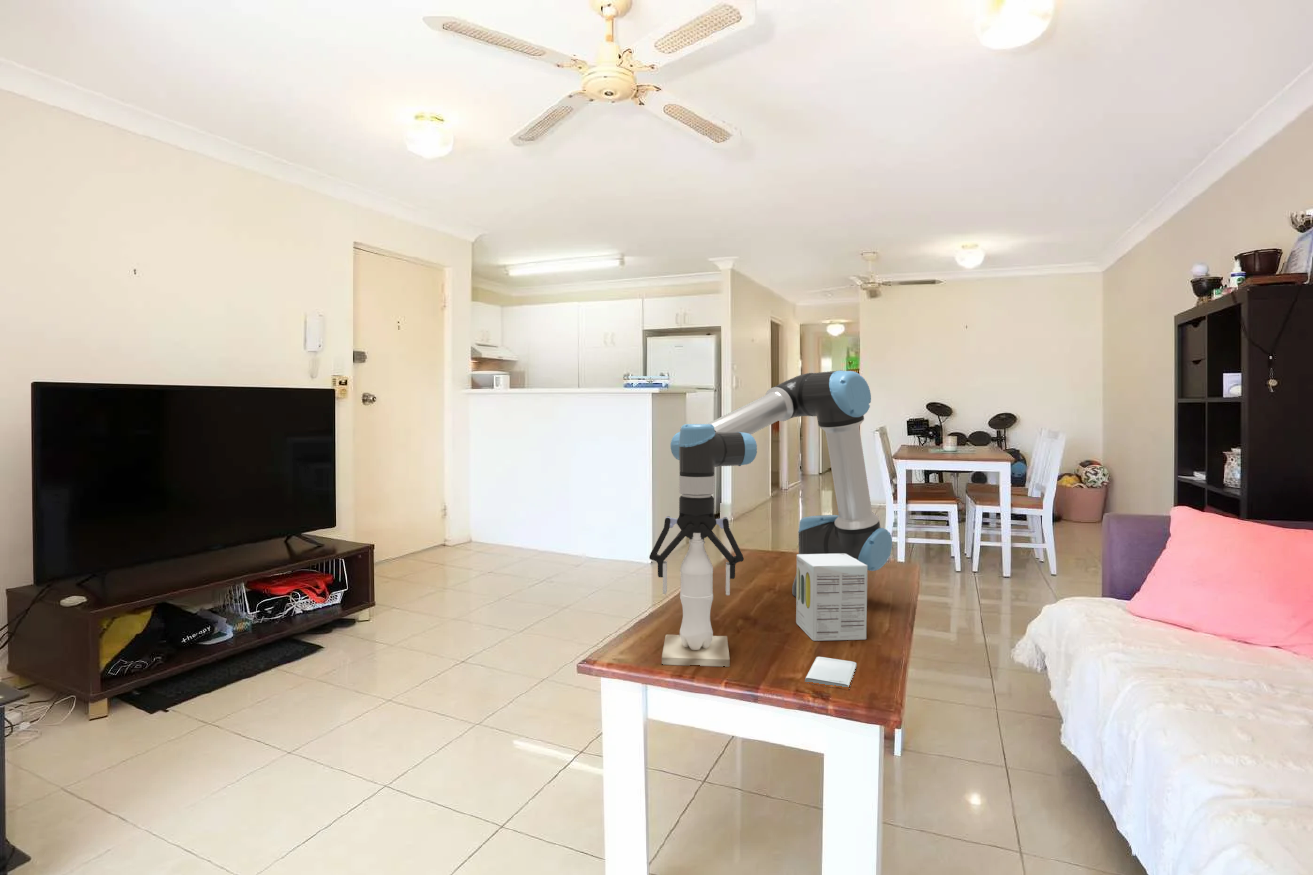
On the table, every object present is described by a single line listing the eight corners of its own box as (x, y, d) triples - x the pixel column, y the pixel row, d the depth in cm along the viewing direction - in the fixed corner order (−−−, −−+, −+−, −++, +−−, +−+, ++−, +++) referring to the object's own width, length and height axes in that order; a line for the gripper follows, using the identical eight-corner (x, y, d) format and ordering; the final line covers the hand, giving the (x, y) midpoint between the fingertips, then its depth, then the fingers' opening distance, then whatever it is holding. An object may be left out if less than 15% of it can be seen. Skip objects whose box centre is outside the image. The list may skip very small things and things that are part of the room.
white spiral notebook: (848, 684, 120) (856, 661, 131) (804, 677, 123) (816, 655, 135) (848, 693, 120) (856, 669, 131) (804, 685, 123) (816, 663, 135)
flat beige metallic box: (726, 642, 145) (727, 636, 145) (729, 666, 131) (729, 659, 131) (665, 641, 146) (665, 634, 146) (661, 664, 132) (661, 657, 132)
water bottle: (690, 654, 134) (691, 535, 133) (673, 643, 140) (674, 530, 140) (719, 648, 137) (719, 533, 136) (701, 638, 144) (702, 528, 143)
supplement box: (794, 623, 159) (795, 553, 159) (845, 621, 161) (846, 552, 160) (812, 641, 146) (813, 566, 146) (867, 640, 147) (868, 564, 147)
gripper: (753, 493, 140) (752, 589, 141) (640, 492, 142) (640, 586, 143) (756, 498, 133) (755, 599, 134) (637, 496, 135) (637, 596, 135)
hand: (696, 592), depth 138 cm, fingers open, 13 cm apart
